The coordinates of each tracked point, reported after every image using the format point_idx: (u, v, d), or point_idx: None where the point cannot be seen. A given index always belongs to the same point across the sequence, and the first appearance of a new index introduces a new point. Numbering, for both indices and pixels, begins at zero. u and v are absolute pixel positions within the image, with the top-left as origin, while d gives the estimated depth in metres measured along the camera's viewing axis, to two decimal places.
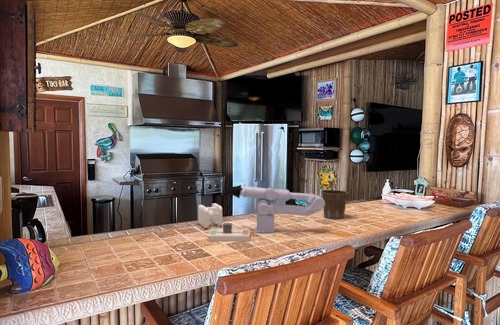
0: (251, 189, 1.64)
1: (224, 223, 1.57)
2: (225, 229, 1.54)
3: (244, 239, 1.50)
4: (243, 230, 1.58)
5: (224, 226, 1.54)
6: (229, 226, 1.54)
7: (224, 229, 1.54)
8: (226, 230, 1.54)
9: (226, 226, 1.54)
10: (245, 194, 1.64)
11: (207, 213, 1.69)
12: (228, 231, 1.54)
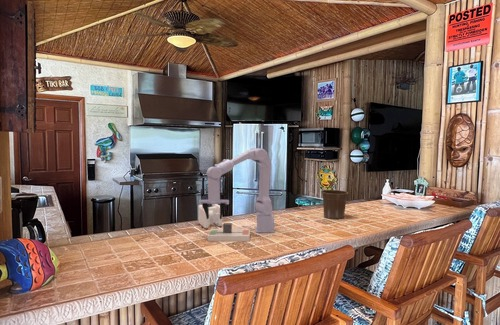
0: (217, 193, 1.53)
1: (224, 223, 1.57)
2: (225, 229, 1.54)
3: (244, 239, 1.50)
4: (243, 230, 1.58)
5: (224, 226, 1.54)
6: (229, 226, 1.54)
7: (224, 229, 1.54)
8: (226, 230, 1.54)
9: (226, 226, 1.54)
10: None
11: None
12: (228, 231, 1.54)
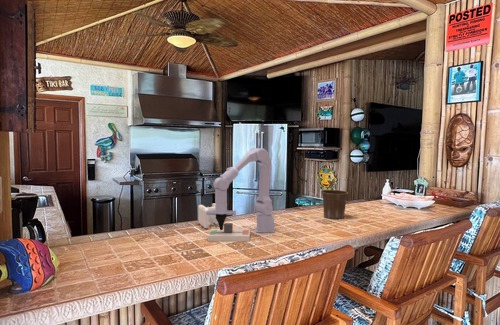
0: (225, 204, 1.53)
1: (225, 223, 1.57)
2: (225, 229, 1.54)
3: (244, 239, 1.50)
4: (243, 230, 1.58)
5: (225, 226, 1.54)
6: (230, 226, 1.54)
7: (225, 229, 1.54)
8: (227, 230, 1.54)
9: (227, 226, 1.54)
10: None
11: None
12: (229, 231, 1.54)
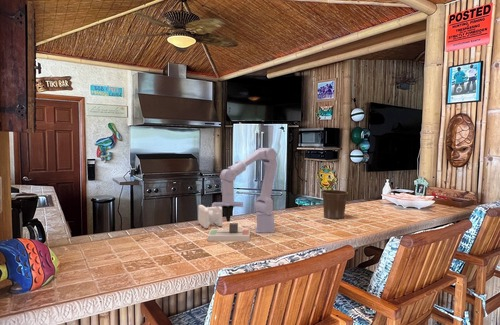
0: (232, 196, 1.53)
1: (230, 223, 1.57)
2: (231, 229, 1.54)
3: (244, 239, 1.50)
4: (243, 230, 1.58)
5: (230, 226, 1.54)
6: (235, 226, 1.54)
7: (230, 229, 1.54)
8: (233, 230, 1.54)
9: (232, 226, 1.54)
10: None
11: (207, 213, 1.69)
12: (234, 231, 1.54)
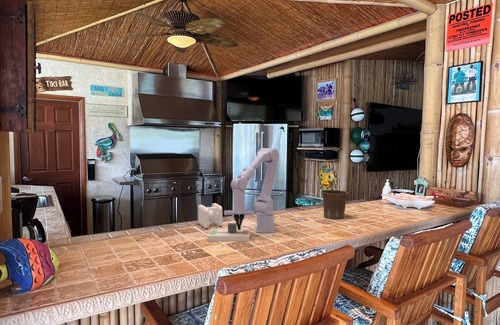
0: (243, 204, 1.53)
1: (229, 223, 1.57)
2: (229, 229, 1.54)
3: (244, 239, 1.50)
4: (243, 230, 1.58)
5: (229, 226, 1.54)
6: (234, 226, 1.54)
7: (229, 229, 1.54)
8: (231, 230, 1.54)
9: (231, 226, 1.54)
10: None
11: (207, 213, 1.69)
12: (233, 231, 1.54)
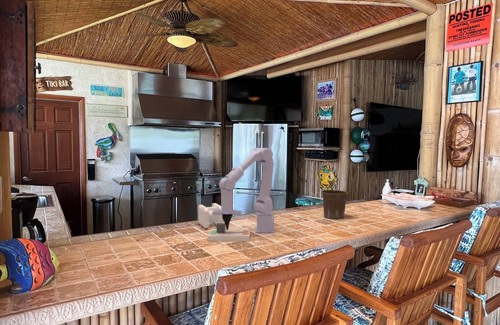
0: (231, 204, 1.53)
1: (218, 223, 1.57)
2: (218, 229, 1.54)
3: (244, 239, 1.50)
4: (243, 230, 1.58)
5: (217, 226, 1.54)
6: (222, 226, 1.54)
7: (217, 229, 1.54)
8: (220, 230, 1.54)
9: (219, 226, 1.54)
10: None
11: (207, 213, 1.69)
12: (221, 231, 1.54)
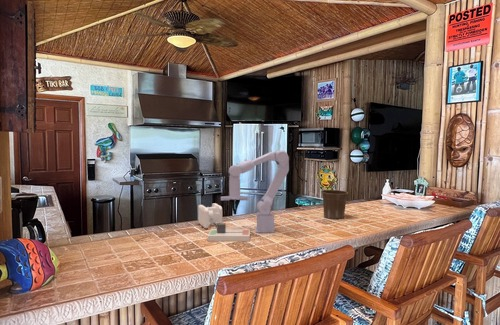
0: (238, 190, 1.63)
1: (218, 223, 1.57)
2: (218, 229, 1.54)
3: (244, 239, 1.50)
4: (243, 230, 1.58)
5: (218, 226, 1.54)
6: (223, 226, 1.54)
7: (218, 229, 1.54)
8: (220, 230, 1.54)
9: (220, 226, 1.54)
10: None
11: (207, 213, 1.69)
12: (222, 231, 1.54)
